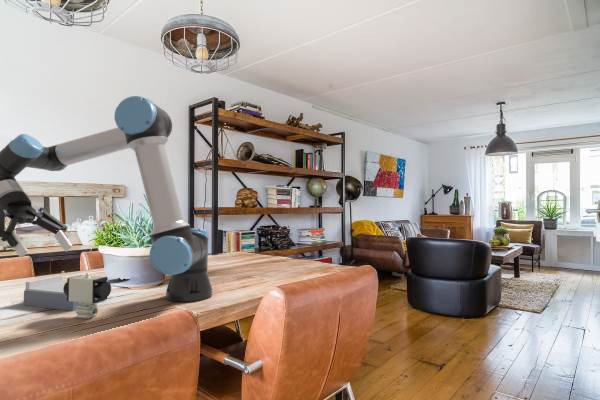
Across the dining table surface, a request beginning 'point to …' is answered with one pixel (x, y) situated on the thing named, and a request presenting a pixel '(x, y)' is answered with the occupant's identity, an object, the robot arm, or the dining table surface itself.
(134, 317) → the dining table surface
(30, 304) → the grey piece
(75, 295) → the pneumatic valve
